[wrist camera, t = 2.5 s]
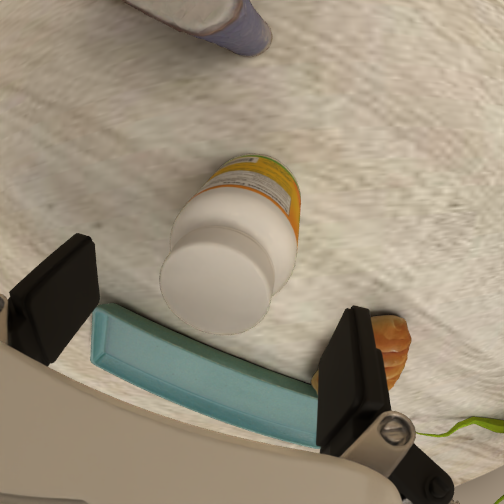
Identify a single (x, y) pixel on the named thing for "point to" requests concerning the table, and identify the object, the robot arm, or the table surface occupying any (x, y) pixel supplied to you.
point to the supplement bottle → (233, 246)
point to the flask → (213, 22)
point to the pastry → (388, 346)
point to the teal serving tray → (202, 377)
